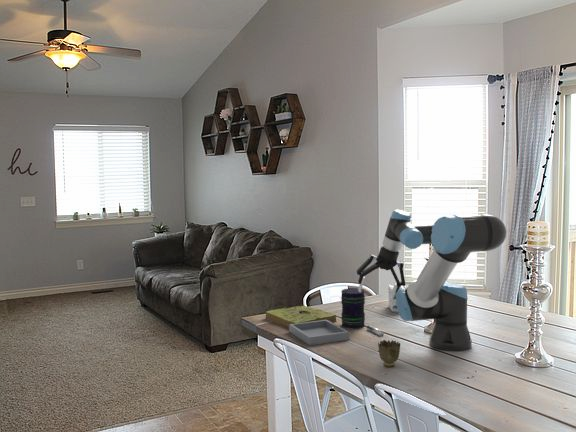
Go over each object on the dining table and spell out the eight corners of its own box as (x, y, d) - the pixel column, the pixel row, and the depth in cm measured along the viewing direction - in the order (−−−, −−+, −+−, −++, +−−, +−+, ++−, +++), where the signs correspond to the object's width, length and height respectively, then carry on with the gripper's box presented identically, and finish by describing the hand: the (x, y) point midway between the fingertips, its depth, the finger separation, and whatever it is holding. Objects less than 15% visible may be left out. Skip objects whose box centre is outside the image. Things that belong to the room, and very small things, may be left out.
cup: (385, 360, 202) (385, 338, 202) (404, 365, 198) (404, 342, 197) (374, 366, 197) (373, 343, 196) (393, 371, 192) (393, 347, 191)
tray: (349, 339, 227) (349, 331, 227) (309, 345, 221) (309, 337, 221) (326, 326, 246) (326, 319, 246) (289, 331, 239) (289, 324, 239)
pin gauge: (383, 336, 232) (383, 331, 232) (379, 336, 231) (379, 332, 231) (371, 329, 241) (370, 325, 241) (366, 330, 241) (366, 325, 240)
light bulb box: (406, 312, 269) (406, 288, 268) (391, 312, 269) (391, 289, 268) (402, 306, 279) (402, 284, 278) (388, 306, 279) (387, 284, 278)
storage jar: (363, 322, 252) (362, 288, 251) (366, 328, 242) (366, 293, 241) (340, 322, 252) (339, 288, 251) (342, 329, 242) (342, 293, 241)
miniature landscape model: (304, 312, 273) (304, 301, 273) (336, 322, 254) (336, 311, 253) (265, 319, 261) (265, 308, 260) (295, 331, 242) (295, 319, 241)
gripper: (419, 251, 236) (403, 298, 243) (359, 237, 235) (345, 283, 242) (422, 258, 229) (406, 306, 235) (361, 243, 228) (346, 291, 235)
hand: (375, 294), depth 239 cm, fingers open, 13 cm apart
